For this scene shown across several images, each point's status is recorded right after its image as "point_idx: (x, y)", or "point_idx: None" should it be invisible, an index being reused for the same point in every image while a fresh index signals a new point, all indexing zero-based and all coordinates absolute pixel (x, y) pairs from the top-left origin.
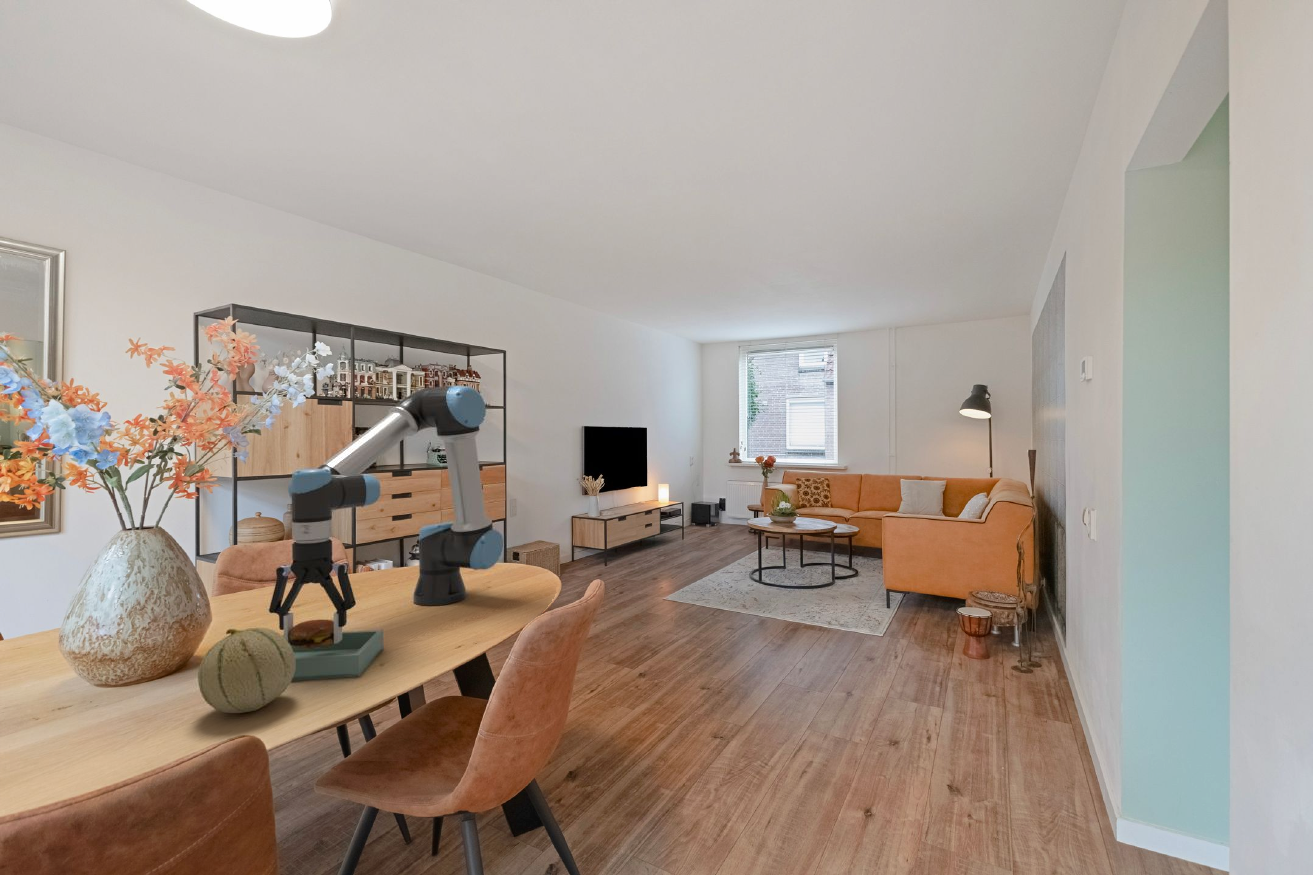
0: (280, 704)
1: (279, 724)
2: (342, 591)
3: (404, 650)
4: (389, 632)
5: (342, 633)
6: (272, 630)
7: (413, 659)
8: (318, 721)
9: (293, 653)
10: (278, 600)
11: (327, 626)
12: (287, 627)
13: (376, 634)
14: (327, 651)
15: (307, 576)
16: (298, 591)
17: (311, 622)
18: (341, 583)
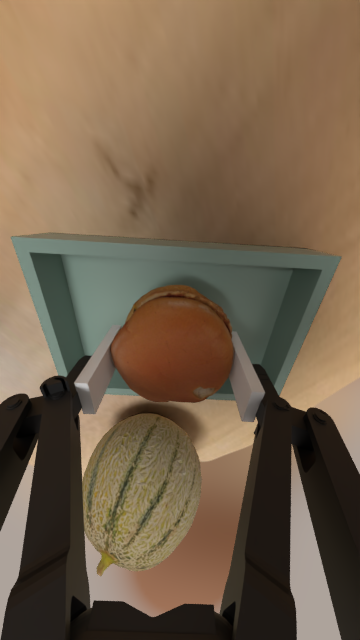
0: (182, 420)
1: (198, 449)
2: (318, 529)
3: (350, 269)
4: (344, 43)
5: (223, 263)
6: (161, 541)
7: (355, 325)
8: (232, 450)
9: (199, 491)
10: (20, 469)
11: (215, 385)
12: (108, 383)
13: (317, 296)
14: (183, 263)
15: None
16: (75, 505)
17: (162, 367)
18: (346, 607)
